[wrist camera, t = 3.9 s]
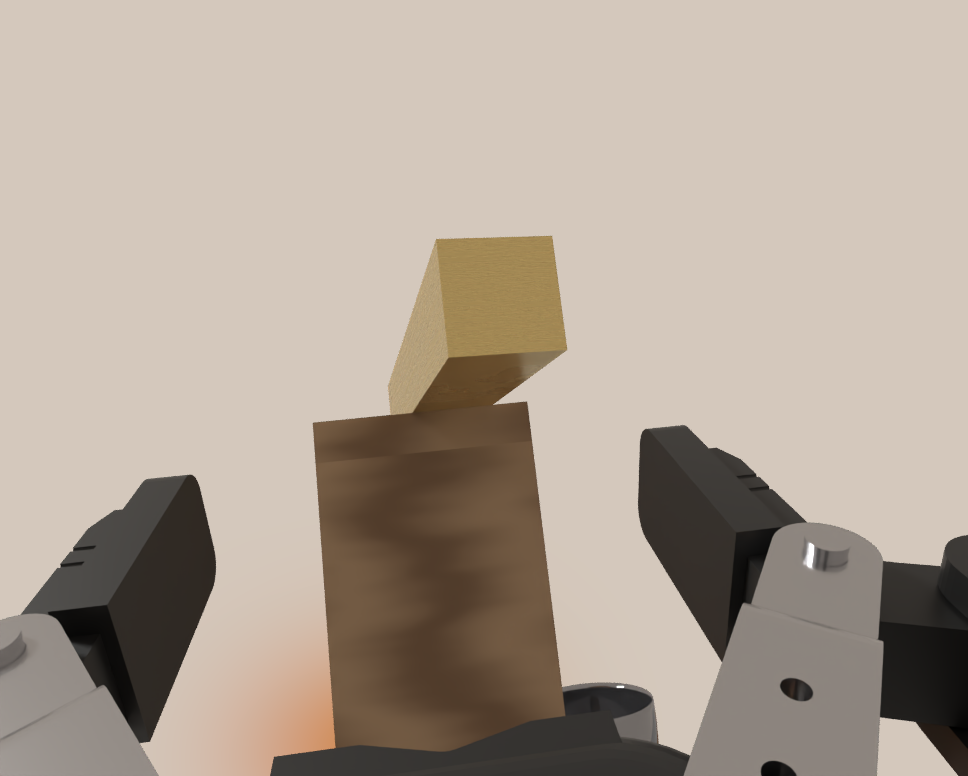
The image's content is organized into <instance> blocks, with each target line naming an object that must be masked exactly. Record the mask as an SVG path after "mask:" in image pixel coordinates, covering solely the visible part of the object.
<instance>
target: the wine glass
mask: <svg viewBox="0 0 968 776" xmlns="http://www.w3.org/2000/svg"><path fill="white" fill-rule="evenodd" d="M562 692H563V700H564V708H565V716H569V715H576V714H583V713H590V712H597V711H604V710H610V711H611V714H612V716H613V719H614V722H615V725H616V727H617V730H618V733H619V735H620V737H629V738H635V739H640V740H645V741H651V742H654V743H657V744H659V743H658V731H657V721H656V713H655V706H654V700H653V696H652V694H651V693H650V692H649V691H647V690H645V689H643V688H641V687H637V686H634V685H628V684H621V683H588V684H578V685H571V686H567V687H562Z"/></svg>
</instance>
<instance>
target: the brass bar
mask: <svg viewBox="0 0 968 776" xmlns="http://www.w3.org/2000/svg"><path fill="white" fill-rule="evenodd" d="M556 270H557V269H556V262H555V255H554V248H553V239H552V236H536V237H535V236H533V237H499V238H464V239H436V241H435V244H434V248H433V250H432V254H431V257H430V260H429V263H428V266H427V269H426V272H425V275H424V278H423V281H422V284H421V287H420V290H419V293H418V296H417V299H416V302H415V305H414V308H413V311H412V314H411V318H410V321H409V324H408V327H407V330H406V333H405V336H404V339H403V343H402V345H401V348H400V351H399V354H398V357H397V360H396V363H395V366H394V369H393V373H392V376H391V379H390V382H389V385H388V390H389V400H390V401H389V402H390V413H391V415H396V414H407V413H417V412H427V411H437V410H447V409H457V408H467V407H477V406H487V405H493V404H494V403H496V402H497V401H498V400H500V399H501V398H502V397H504V396H505V395H506V394H508V393H509V392H511V391H512V390H513V389H515V388H516V387H517V386H519V385H520V384H522V383H523V382H524V381H526V380H527V379H528V378H530V377H531V376H532V375H534V374H535V373H536V372H538V371H539V370H540V369H542V368H543V367H545V366H546V365H547V364H549V363H550V362H551V361H553V360H554V359H555V358H557V357H558V356H560V355H561V354H562V353H564V352H565V351H566V350H567V345H566V337H565V330H564V323H563V315H562V307H561V300H560V293H559V285H558V277H557V271H556Z"/></svg>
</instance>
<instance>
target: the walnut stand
mask: <svg viewBox="0 0 968 776" xmlns="http://www.w3.org/2000/svg"><path fill="white" fill-rule="evenodd" d="M313 432H314V446H315V460H316V475H317V489H318V502H319V518H320V531H321V545H322V559H323V560H322V561H323V574H324V589H325V603H326V616H327V632H328V645H329V660H330V675H331V689H332V701H333V718H334V731H335V745H336V748H341V747H348V746H355V745H366V746H378V747H390V748H402V749H414V750H426V751H437V752H445V751H451V750H454V749H458V748H460V747H463V746H465V745H468V744H471V743H473V742H476V741H479V740H481V739H484V738H486V737H489V736H492V735H494V734H497V733H500V732H502V731H505V730H508V729H510V728H513V727H515V726H518V725H521V724H523V723H526V722H529V721H533V720H540V719H547V718H554V717H561V716H565V708H564V700H563V692H562V684H561V675H560V668H559V659H558V651H557V643H556V634H555V627H554V618H553V610H552V602H551V594H550V585H549V577H548V569H547V561H546V554H545V553H546V552H545V544H544V536H543V528H542V520H541V511H540V503H539V495H538V487H537V479H536V470H535V462H534V454H533V446H532V438H531V429H530V422H529V413H528V405H527V402H518V403H508V404H497V405H487V406H477V407H467V408H457V409H447V410H437V411H427V412H417V413H407V414H396V415H386V416H377V417H367V418H356V419H348V420H347V419H346V420H336V421H326V422H317V423H313Z"/></svg>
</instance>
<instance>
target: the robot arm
mask: <svg viewBox="0 0 968 776" xmlns="http://www.w3.org/2000/svg"><path fill="white" fill-rule="evenodd" d="M638 510H639V518H640V523H641V527H642V530H643V533H644V535H645V537H646V539H647V541H648V543H649V544H650V546H651V547H652V549H653V551H654V552H655V554H656V555H657V557H658V559H659V560H660V562H661V564H662V565H663V567H664V569H665V570H666V572H667V573H668V575H669V577H670V578H671V580H672V582H673V583H674V585H675V587H676V588H677V590H678V591H679V593H680V595H681V596H682V598H683V600H684V601H685V603H686V604H687V606H688V607H689V609H690V611H691V613H692V614H693V616H694V617H695V619H696V621H697V622H698V624H699V625H700V627H701V629H702V630H703V632H704V634H705V635H706V637H707V639H708V640H709V642H710V643H711V645H712V647H713V648H714V650H715V651H716V653H717V655H718V657H719V658H720V660H721V661H722V665H721V668H720V671H719V673H718V676H717V679H716V682H715V685H714V688H713V691H712V694H711V697H710V700H709V703H708V706H707V708H706V711H705V714H704V717H703V720H702V723H701V727H700V729H699V732H698V735H697V738H696V741H695V744H694V747H693V750H692V753H691V755H690V756H689V755H687V754H685V753H682V752H680V751H678V750H675V749H673V748H670V747H667V746H663V745H660V744H657V743H654V742H651V741H645V740H640V739H635V738H629V737H620V735H619V733H618V730H617V727H616V725H615V722H614V719H613V716H612V714H611V711H610V710H604V711H597V712H590V713H583V714H576V715H569V716H561V717H554V718H547V719H540V720H533V721H529V722H526V723H523V724H521V725H518V726H515V727H513V728H510V729H508V730H505V731H502V732H500V733H497V734H494V735H492V736H489V737H486V738H484V739H481V740H479V741H476V742H473V743H471V744H468V745H465V746H463V747H460V748H458V749H454V750H451V751H445V752H437V751H426V750H414V749H402V748H390V747H378V746H366V745H355V746H348V747H341V748H334V749H327V750H320V751H313V752H306V753H298V754H291V755H284V756H277V757H274V760H273V764H272V769H271V774H270V776H877V761H878V743H879V723H880V717H882V718H890V719H898V720H906V721H914V722H916V723H917V724H918V726H919V727H920V728H921V730H922V731H923V732H924V734H926V736H927V737H928V739H929V740H930V741H931V742H932V743H933V745H934V746H935V747H936V748H937V749H938V751H939V752H940V753H941V755H942V756H943V757H944V758H945V760H946V761H947V762H948V763H949V765H950V766H951V767H952V768H953V770H954V771H955V772H956V773H957V775H958V776H968V535H966V536H960V537H957V538H954V539H952V540H950V541H949V542H948V543H947V545H946V547H945V550H944V555H943V559H942V563H941V566H931V565H918V564H906V563H894V562H886V561H883V559H882V556H881V554H880V552H879V551H878V550H877V548H876V547H875V546H874V545H873V544H872V543H870V542H869V541H868V540H866V539H865V538H863V537H861V536H859V535H858V534H856V533H853V532H851V531H849V530H845V529H843V528H840V527H836V526H832V525H827V524H821V523H807V522H806V521H805V520H804V519H803V518H802V517H801V516H800V515H799V514H798V513H797V512H795V510H794V509H793V508H792V507H790V506H789V505H788V504H787V503H786V502H785V501H784V500H783V499H782V498H781V497H780V496H779V495H778V494H777V493H776V492H775V491H773V490H772V489H769V486H768V485H767V484H766V483H765V482H764V481H763V480H762V479H761V478H760V477H756V474H755V473H754V471H752V470H751V469H750V468H749V467H748V466H747V465H746V464H745V463H744V462H743V461H742V460H741V459H739V458H737V457H735V456H733V455H731V454H728V453H726V452H724V451H722V450H720V449H718V448H708V447H707V446H706V445H705V444H704V443H703V442H702V441H701V440H700V439H699V438H698V437H697V436H696V435H695V434H694V433H693V432H692V431H690V429H689V428H688V427H687V426H685V425H681V426H671V427H662V428H652V429H645V430H644V431H643V432H642V435H641V439H640V460H639V493H638ZM215 559H216V558H215V551H214V546H213V542H212V538H211V534H210V529H209V525H208V521H207V517H206V513H205V508H204V504H203V500H202V495H201V491H200V487H199V484H198V482H197V480H196V478H195V477H194V476H193V475H183V476H173V477H164V478H154V479H146V480H145V481H144V482H143V483H142V484H141V485H140V487H139V488H138V490H137V491H136V492H135V494H134V495H133V496H132V498H131V499H130V500H129V502H128V503H127V504H126V506H125V507H124V509H123V510H115V511H113V512H112V513H110V514H109V515H107V516H106V517H104V518H103V519H101V520H100V521H99V522H97V523H96V524H94V525H93V526H91V527H90V528H88V530H87V531H86V532H85V534H84V535H83V536H82V537H81V539H80V540H79V541H78V542H77V544H76V545H75V546H74V547H73V552H70V553H69V554H68V555H67V556H66V558H65V559H64V560H63V561H62V563H61V564H60V565H61V568H57V569H56V571H55V572H54V573H53V574H52V576H51V577H50V578H49V579H48V581H47V582H46V583H45V584H44V586H43V587H42V588H41V589H40V591H39V592H38V593H37V595H36V596H35V597H34V598H33V600H32V601H31V602H30V603H29V605H28V606H27V607H26V608H25V610H24V611H23V612H22V614H21V615H18V616H13V617H9V618H6V619H2V620H0V776H158V774H157V772H156V770H155V769H154V767H153V766H152V764H151V762H150V760H149V759H148V757H147V756H146V754H145V752H144V750H143V748H142V747H141V745H140V743H143V742H150V740H151V738H152V735H153V733H154V730H155V728H156V725H157V723H158V720H159V718H160V716H161V713H162V711H163V708H164V706H165V703H166V701H167V698H168V696H169V694H170V691H171V689H172V686H173V684H174V682H175V679H176V677H177V674H178V672H179V669H180V667H181V664H182V662H183V660H184V657H185V655H186V652H187V650H188V647H189V645H190V642H191V640H192V637H193V635H194V633H195V630H196V628H197V625H198V623H199V620H200V618H201V616H202V613H203V611H204V608H205V606H206V603H207V601H208V598H209V596H210V594H211V591H212V589H213V586H214V582H215V575H216V560H215Z"/></svg>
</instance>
